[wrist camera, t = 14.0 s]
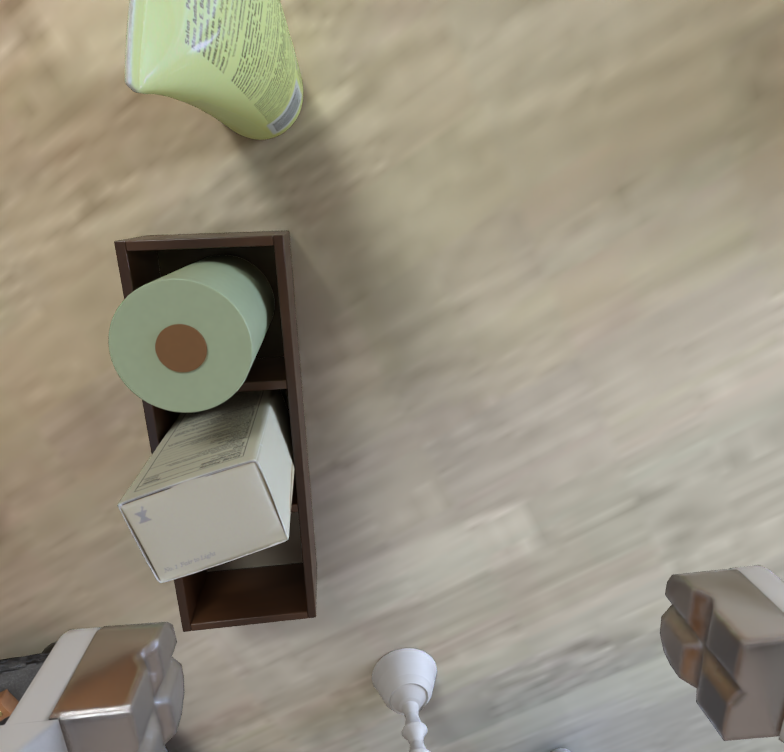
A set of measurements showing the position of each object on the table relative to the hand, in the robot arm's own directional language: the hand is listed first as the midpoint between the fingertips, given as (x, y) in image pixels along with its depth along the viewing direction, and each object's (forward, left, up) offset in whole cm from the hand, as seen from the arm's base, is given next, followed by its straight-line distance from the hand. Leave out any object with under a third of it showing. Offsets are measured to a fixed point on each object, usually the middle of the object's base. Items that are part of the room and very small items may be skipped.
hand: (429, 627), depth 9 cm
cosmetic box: (+7, +6, -26) cm, 28 cm away
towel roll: (+7, -1, -26) cm, 27 cm away
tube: (+4, -13, -26) cm, 30 cm away
